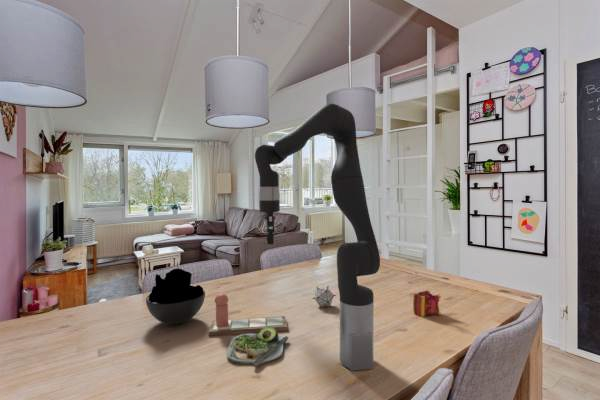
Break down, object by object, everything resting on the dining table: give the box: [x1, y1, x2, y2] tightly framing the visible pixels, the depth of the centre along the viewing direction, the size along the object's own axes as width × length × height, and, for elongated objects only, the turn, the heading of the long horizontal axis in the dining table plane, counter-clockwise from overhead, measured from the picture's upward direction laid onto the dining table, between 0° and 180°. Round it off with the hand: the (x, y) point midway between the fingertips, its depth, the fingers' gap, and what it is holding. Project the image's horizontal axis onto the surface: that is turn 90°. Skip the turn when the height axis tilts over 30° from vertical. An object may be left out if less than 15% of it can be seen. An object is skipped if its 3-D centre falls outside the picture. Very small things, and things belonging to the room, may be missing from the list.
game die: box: [311, 285, 337, 309], centre depth 134 cm, size 9×8×10 cm
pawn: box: [214, 292, 229, 327], centre depth 112 cm, size 4×4×11 cm
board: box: [208, 315, 289, 337], centre depth 114 cm, size 9×26×2 cm, turn 98°
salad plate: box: [226, 327, 289, 367], centre depth 97 cm, size 19×18×5 cm
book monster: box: [412, 289, 442, 318], centre depth 123 cm, size 11×9×12 cm
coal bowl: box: [145, 268, 206, 325], centre depth 119 cm, size 20×20×19 cm
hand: (269, 242), depth 123 cm, fingers open, 8 cm apart
